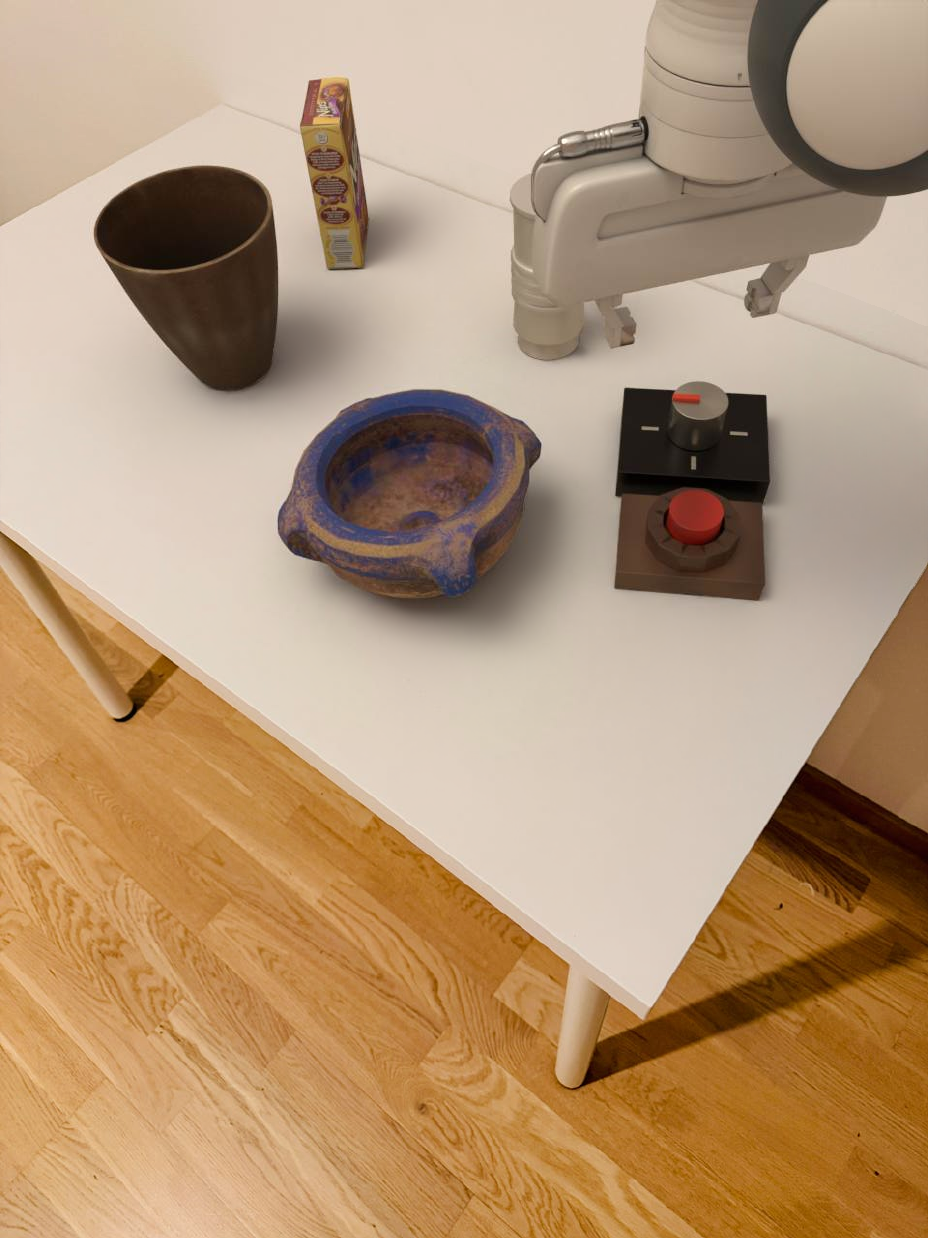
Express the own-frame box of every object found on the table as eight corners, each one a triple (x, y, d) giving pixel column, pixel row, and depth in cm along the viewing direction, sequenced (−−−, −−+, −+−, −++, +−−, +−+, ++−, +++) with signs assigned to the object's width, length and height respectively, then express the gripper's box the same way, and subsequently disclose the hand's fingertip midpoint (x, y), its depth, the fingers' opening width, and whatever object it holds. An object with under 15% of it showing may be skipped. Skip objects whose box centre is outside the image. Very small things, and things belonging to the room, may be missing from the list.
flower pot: (342, 348, 89) (308, 195, 75) (238, 442, 82) (180, 292, 69) (234, 299, 94) (184, 147, 81) (128, 383, 88) (55, 234, 75)
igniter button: (720, 506, 70) (723, 491, 68) (720, 547, 68) (724, 532, 66) (667, 503, 70) (670, 487, 69) (665, 543, 68) (668, 528, 67)
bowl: (376, 440, 81) (358, 351, 73) (562, 497, 76) (565, 408, 68) (270, 590, 73) (236, 509, 64) (472, 666, 67) (463, 587, 59)
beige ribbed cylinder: (596, 351, 86) (606, 203, 73) (528, 371, 85) (526, 224, 73) (568, 308, 90) (573, 161, 77) (502, 327, 89) (497, 181, 76)
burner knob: (721, 414, 76) (728, 379, 73) (721, 452, 74) (729, 418, 70) (667, 411, 77) (673, 376, 73) (666, 449, 74) (671, 414, 71)
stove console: (759, 420, 79) (767, 392, 77) (762, 506, 74) (771, 480, 71) (621, 412, 81) (624, 385, 79) (614, 496, 76) (617, 470, 73)
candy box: (367, 268, 96) (340, 123, 83) (327, 271, 96) (294, 126, 83) (372, 219, 100) (348, 75, 88) (334, 221, 101) (305, 77, 88)
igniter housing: (756, 520, 73) (767, 486, 70) (759, 600, 69) (770, 569, 66) (620, 510, 75) (623, 477, 72) (614, 588, 71) (617, 557, 67)
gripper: (548, 174, 44) (546, 392, 55) (941, 96, 45) (860, 323, 57) (514, 110, 47) (519, 327, 59) (880, 39, 49) (815, 265, 60)
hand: (689, 325), depth 58 cm, fingers open, 8 cm apart
